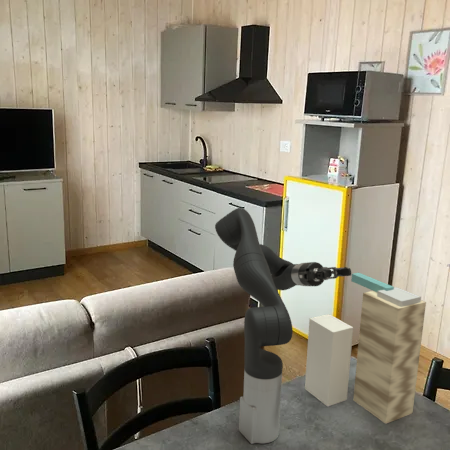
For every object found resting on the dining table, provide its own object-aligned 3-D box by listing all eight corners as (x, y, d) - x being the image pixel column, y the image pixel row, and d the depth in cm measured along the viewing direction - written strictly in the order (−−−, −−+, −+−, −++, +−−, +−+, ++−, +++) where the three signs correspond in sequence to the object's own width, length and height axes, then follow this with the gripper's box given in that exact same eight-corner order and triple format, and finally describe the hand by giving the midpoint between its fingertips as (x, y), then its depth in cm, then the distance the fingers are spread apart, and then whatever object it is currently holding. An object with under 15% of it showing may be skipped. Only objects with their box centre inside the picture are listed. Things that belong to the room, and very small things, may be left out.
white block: (327, 406, 137) (333, 332, 132) (304, 388, 145) (309, 318, 140) (346, 400, 140) (353, 327, 135) (323, 382, 149) (328, 314, 144)
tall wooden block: (385, 423, 130) (398, 308, 123) (353, 400, 140) (363, 292, 133) (412, 413, 135) (426, 302, 128) (379, 391, 145) (390, 287, 138)
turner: (401, 307, 124) (401, 298, 123) (345, 282, 141) (346, 274, 140) (420, 302, 127) (421, 294, 127) (363, 278, 144) (364, 271, 144)
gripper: (287, 264, 156) (315, 263, 141) (325, 260, 162) (356, 258, 147) (289, 288, 156) (318, 289, 141) (328, 283, 161) (359, 283, 146)
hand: (337, 273), depth 144 cm, fingers open, 8 cm apart
